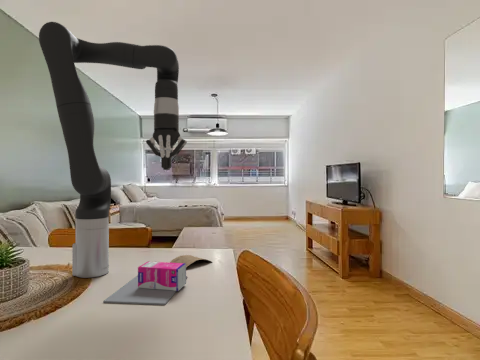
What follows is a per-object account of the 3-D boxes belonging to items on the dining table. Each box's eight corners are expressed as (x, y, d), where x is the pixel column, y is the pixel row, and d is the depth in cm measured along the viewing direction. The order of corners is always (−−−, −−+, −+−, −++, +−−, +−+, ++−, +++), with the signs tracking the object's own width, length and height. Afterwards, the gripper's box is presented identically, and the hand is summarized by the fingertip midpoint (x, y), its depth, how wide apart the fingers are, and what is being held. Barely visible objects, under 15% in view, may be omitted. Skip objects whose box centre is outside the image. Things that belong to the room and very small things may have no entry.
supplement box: (178, 291, 80) (137, 288, 82) (186, 283, 85) (148, 281, 88) (177, 269, 80) (136, 266, 82) (186, 262, 85) (147, 260, 88)
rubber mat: (103, 302, 74) (103, 300, 74) (138, 276, 94) (138, 274, 94) (165, 305, 72) (165, 303, 72) (187, 277, 92) (187, 276, 92)
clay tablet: (183, 272, 99) (183, 264, 99) (163, 267, 105) (163, 259, 105) (215, 263, 110) (215, 255, 110) (195, 258, 116) (195, 251, 116)
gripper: (190, 116, 101) (190, 170, 101) (150, 117, 102) (150, 170, 102) (184, 111, 93) (183, 169, 93) (141, 112, 94) (141, 169, 95)
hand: (166, 169), depth 98 cm, fingers closed
